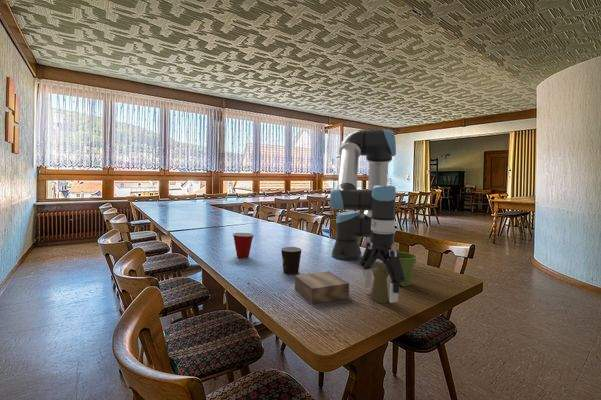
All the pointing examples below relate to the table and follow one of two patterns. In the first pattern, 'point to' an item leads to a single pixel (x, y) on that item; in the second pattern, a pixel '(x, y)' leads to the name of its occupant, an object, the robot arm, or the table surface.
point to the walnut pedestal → (321, 287)
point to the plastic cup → (243, 244)
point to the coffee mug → (291, 259)
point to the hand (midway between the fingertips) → (379, 294)
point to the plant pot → (407, 266)
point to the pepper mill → (380, 285)
